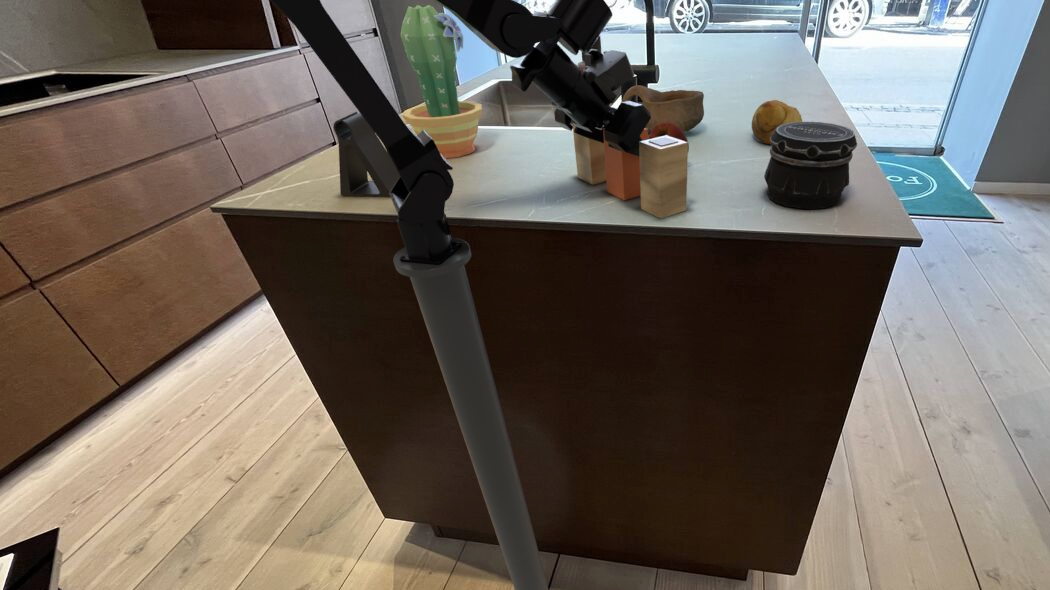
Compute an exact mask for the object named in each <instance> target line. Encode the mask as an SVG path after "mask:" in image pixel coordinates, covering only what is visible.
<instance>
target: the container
mask: <svg viewBox="0 0 1050 590" xmlns="http://www.w3.org/2000/svg"><path fill="white" fill-rule="evenodd" d="M770 142H771V144H770V145H771V146H770V149H769V154H770V158H769V161H768V164H767V167H766V170H765V171H764V172H765V173H764V175H763V176H764V181H765V183H766V185H767V198H769V200H771V201H773V202H774V203H776V204H778V205H782V206H784V207H789V208H798V209H805V210H818V209H819V210H820V209H825V208H826V209H827V208H831V207H833V206H835V205H837V204H838V203H839V202H840V200H841V198H842V194H843V192H844V190H845V188H847V187H849V185H850V162H851V160H852V159H853V151H854V150H856V148H857V147H858V142H857V138H856V135H855V131H854V130H853V129H851V128H849V127H847V126H843V125H841V124H840V125H839V124H835V123H831V122H822V121H802V122H793V123H787V124H782V125H780V126H778V127H777V128H776V130H775V131H774V132H773V133H772V134H771V138H770Z"/></svg>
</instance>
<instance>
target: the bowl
mask: <svg viewBox="0 0 1050 590" xmlns="http://www.w3.org/2000/svg"><path fill="white" fill-rule="evenodd" d="M635 96H637V97H639V98H640V99H641V102H642V105H644V106H645V108H646V109H647V110H648V111H649V112H650V113H651V119H650V120H649V122H648V124H647V125H646V127H645V128H646V129H648V131H650V132H651V131H652V129H653V128H654V127H655V126H656V125H657V124H659V123H661V122H670V123H673V124H675V125H677V126H678V127H679V128H681V129H682V131H683V132H684V133H686V132H688V131H689V132H690V131H692V130H693V129H694V128H695V127H697V126H698V125H699V124H700V123H701V122H702V120H703V119H704V118H705V117H704V116H705V109H704V97H705V95H704V92H703V91H701V90H686V89H678V90H674V89H672V90H667V91H660V90H657V89H653V88H651V87H648V86H644V85H641V84H640V85H639V84H638V85H636V84H635V85H633V86H631V87H629V89H627V90H626V92H625V93H624V94H623V97H622V101H621V102H626V101H631V102H632V99H633V97H635Z"/></svg>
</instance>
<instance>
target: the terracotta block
mask: <svg viewBox="0 0 1050 590" xmlns="http://www.w3.org/2000/svg"><path fill="white" fill-rule="evenodd" d="M604 129H605V128H603V136H604ZM640 137H641V139H642V141H644V140H648V137H649V130H648V129H646V128H644V130H643V132H642V133H641V135H640ZM608 145H609V143H608V142H607V141H605V136H604V151H605V166H606V180H607V181H606V193H609V194H610V195H612V196H615V197H616V198H618V199H620V200H623V201H627V200H630V199H634V198H637V197H641V191H640V157H639V156H636V155H633V154H629V153H626V152H623V151H619V150H616V149H614V148H611V147H609V146H608Z"/></svg>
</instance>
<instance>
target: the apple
mask: <svg viewBox="0 0 1050 590" xmlns="http://www.w3.org/2000/svg"><path fill="white" fill-rule="evenodd" d="M665 135H667V136H670V137H673V138H676V139H679V140H682V141H685V142H688V152H689V149H690V146H689V140H688V137H687V135H686V134H685V132H683V131H682V129H681V128H679V127H678V126H677V125H675V124H673V123H670V122H661V123H659V124H657V125H656V126H655V127H654V128H653V129H652V131H650V133H649V134H648V139H653V138H657V137H661V136H665Z"/></svg>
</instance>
